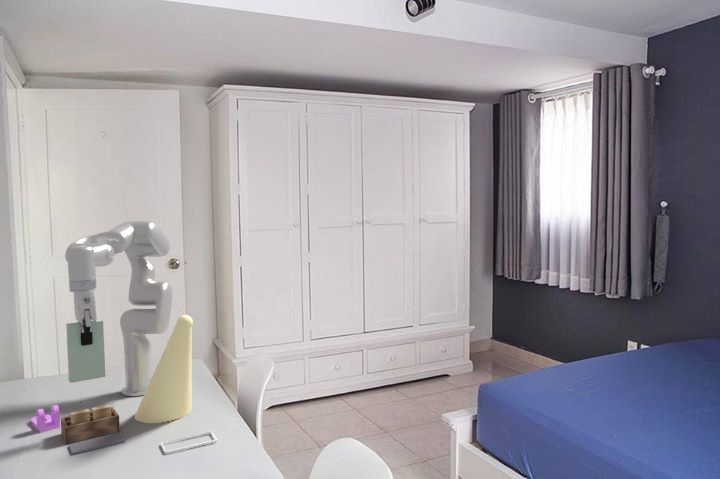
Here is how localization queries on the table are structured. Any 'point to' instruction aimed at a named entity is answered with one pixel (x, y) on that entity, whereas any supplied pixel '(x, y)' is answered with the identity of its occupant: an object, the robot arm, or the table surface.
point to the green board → (85, 353)
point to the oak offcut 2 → (101, 412)
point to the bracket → (46, 419)
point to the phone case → (187, 446)
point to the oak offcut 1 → (80, 416)
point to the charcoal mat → (96, 443)
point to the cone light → (170, 379)
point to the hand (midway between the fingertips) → (86, 343)
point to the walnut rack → (89, 428)
